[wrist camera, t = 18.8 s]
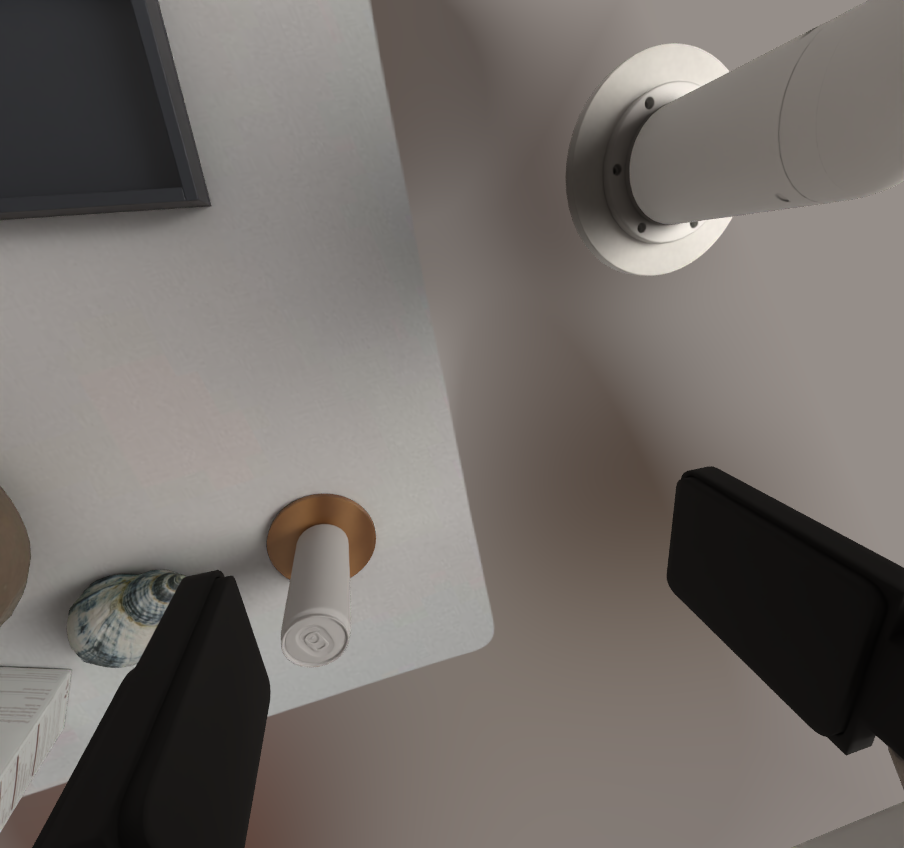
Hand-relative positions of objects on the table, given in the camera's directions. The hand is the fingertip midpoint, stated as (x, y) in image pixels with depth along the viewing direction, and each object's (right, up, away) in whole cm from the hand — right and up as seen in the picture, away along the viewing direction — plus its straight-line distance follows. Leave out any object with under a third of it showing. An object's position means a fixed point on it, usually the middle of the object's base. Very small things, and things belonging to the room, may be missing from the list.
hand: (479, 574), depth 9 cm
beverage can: (-13, -8, +32) cm, 36 cm away
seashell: (-28, -12, +31) cm, 44 cm away
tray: (-27, +24, +18) cm, 40 cm away
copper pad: (-13, -8, +33) cm, 36 cm away
